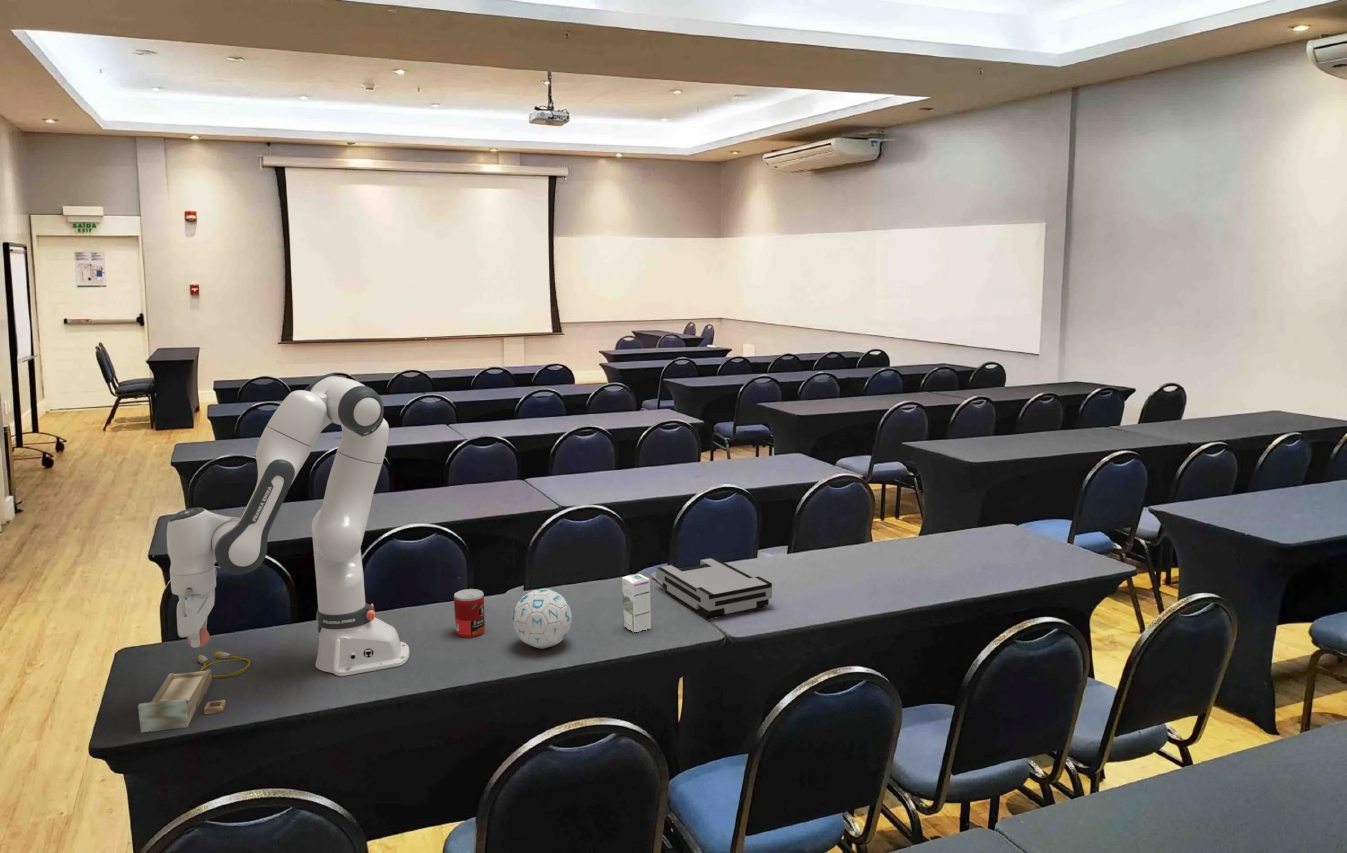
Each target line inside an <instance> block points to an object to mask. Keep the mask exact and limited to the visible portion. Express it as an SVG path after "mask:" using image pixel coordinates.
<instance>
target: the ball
mask: <svg viewBox="0 0 1347 853" xmlns="http://www.w3.org/2000/svg"><path fill="white" fill-rule="evenodd" d="M199 634H200V637H201V644H200V646H199V647H193V648H195V649H199V648H202V647H204V646H206V645H207V644H208V643H209V641H210V633H209V631H208V630H207V628H206V629H204V628H200V632H199ZM186 638H187V643H188V644H189V646H190V647H191V641H190V638H189V637H186Z"/></svg>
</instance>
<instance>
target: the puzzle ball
mask: <svg viewBox="0 0 1347 853" xmlns="http://www.w3.org/2000/svg"><path fill="white" fill-rule="evenodd" d="M572 616H573V614H572V610H571V607H570V605H569V602H568V600H567V599H566V598H565V597H564V596H563V595H562V594H560V593H559V592H558V591H555V590H553V589H552V590H551V589H548V588H538V589H535V590H534V589H533V590H531V591H530V592H527V593H526V594H524V595H523V596H522V597H521V598H520V599H519V601H518V602H517V603H516V605H515V608H514V610H513V614H512V624H513V628H514V629H513V630H514V631H515V632H516V635H517V636H518V638H519V639H520V640H521V642H523V643H525V644H527V645H529V646H531V647H534V648H535V649H536V648H537V649H547V648H550V647H554V646H556V645H557V644H560V643H561V642H562V641H563V640H564V639H565V638H566V637H567V635H568V633H569V631H570V628H571V626H572Z"/></svg>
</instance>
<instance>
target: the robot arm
mask: <svg viewBox="0 0 1347 853" xmlns="http://www.w3.org/2000/svg"><path fill="white" fill-rule="evenodd" d="M330 424H336V425H340V426H341V439H340V442H339V443H338V447H337V451H336V454H335V456H334V458H333V459H334V460H333V464H332V466H331V468H330V472H329V476H328V479H327V483H326V488H325V493H324V496H323V500H322V505H321V508H320V509H318V511H317V512H316V513H315V515H314V517H313V519H312V522H311V534H312V536H311V537H312V545H313V546H312V547H313V557H314V558H313V559H314V561H313V562H314V572H315V580H316V595H317V597H316V598H317V605H318V606H317V610H316V615H315V616H316V627H317V631H318V633H319V635H318V646H317V647H318V649H317V653H316V654H317V656H316V659H315V660H316V661H315V663H314V664H315V665H314V666H315V668H316V669H317V670H320V671H322V672H327V673H331V674H334V675H336V676H337V677H346V676H351V675H356V674H361V673H368V672H373V671H379V670H384V669H385V670H386V669H389V668H390V669H391V668H395V667H399V666H402V665H404V664H405V663H406V662H407V661H408V660H409V658H410V647H409V645H408V643H406V642H404V641H401V640H400V637H399V634H398V631H397V630H396V628H395V627H394V626H393V625H390V624H388V623H387V622H385V621H383V620H381V619H379V618H377V617H376V611H375V606H374V604H373V603H371V604H369V603H367V602H366V594H365V580H364V568H363V560H362V559H363V558H362V549H361V546H362V545H363V544H362V543H363V540H364V536H365V532H366V528H367V524H368V520H369V515H370V512H371V511H370V510H371V507H372V502H373V501H372V500H373V497H374V493H375V489H376V486H377V482H378V480H379V476H380V473H381V470H382V466H383V462H384V459H385V456H386V451H387V447H388V441H389V434H390V433H389V431H390V427H389V426H390V425H389V423H388V421H387V420H386V419H385V418H384V403H383V400H382V398H381V396H380V394H378V393H377V392H376V390H374V389H373V388H371V387H369V386H367V385H365V384H363V383H361V382H359V381H357V380H354V379H352V378H351V379H350V378H346V377H343V376H341V375H340V374H339V375H338V374H329V373H328V374H323V375H320V376H318V377H317V378H315V379H314V380H313V381H312V382H311V383H310V384H309V385H308V386H307V387H306V388H305V389H304V390H302V389H299V390H298V389H297V390H294V391H291V392H290V393H289V394H288V395H287V396H286V397H285V398H284V399H283V401H282V402H281V403H280V405H278V407H277V408H276V409H275V411H274V413H273V415H272V416H271V418H270V419H269V420H268V423H267V424H266V426H265V427H264V430H263V432H262V434H261V436H260V439H259V441H258V443H257V448H256V451H255V460H256V465H257V481H256V485H255V489H254V491H253V493H252V495H251V497H250V499H249V501H248V503H247V505H246V508H245V510H244V511H243V513H242V515H241V517H239V516H228V515H222V514H218V513H216V512H215V513H214V512H212V511H210V510H207V509H205V508H204V507H191V508H188V509H183V510H180V511H178V512H176V513H175V514H173V515H172V516H171V517H170V518H169V520H168V522H167V525H166V526H167V527H166V548H167V555H168V557H169V560H170V567H169V579H170V590H171V593H172V595H176V596H178V602H177V605H176V627H177V628H176V629H177V635H178V637H179V638H187V637H189V638H190V641H191V646H190V647H191V648H194V647H199V646H200V644H201V637H200V634H199V632H200V628H204V629H206V630H207V624H208V616H209V614H210V613H211V611H212V609H213V607H214V606H215V600H216V591H215V590H216V589H215V588H216V587H217V579H216V578H217V576H218V572H217V568H216V567H215V564H216V563H217V565H218V566H219V568H221V570H223V571H224V572H226V573H227V574H231V575H237V576H238V575H246V574H249V573H252V572H254V571H255V570H257V569H258V568H259V567H260V566H261V565H262V564H263V562H264V561H265V558H266V556H267V552H268V537H269V533H270V531H271V528H272V526H273V524H274V522H275V519H276V518H277V516H278V513H279V511H280V508H281V507H282V505H283V503H284V501H285V499H286V496H287V494H288V492H289V490H290V487H291V486H292V484H293V482H294V481H295V479H296V477H297V476H298V473H299V472H300V470H301V468H303V466H304V464H305V462H306V460H307V459H308V458H309V456H310V454H311V452H312V450H313V449H314V446H315V445H316V442H318V441H317V440H318V438H319V435H320V434H321V433H322V431H323V430H324V429H326V427H328V426H329V425H330Z"/></svg>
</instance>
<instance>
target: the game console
mask: <svg viewBox="0 0 1347 853" xmlns="http://www.w3.org/2000/svg"><path fill="white" fill-rule="evenodd" d="M655 579H656V580H658V581H660V582H661V583H662V585H661V586H662V587H663V588H665V591H666V592H665V593H666V595H669V596H670V597H671V598H673V599H675V600H676V601H678V602H679V603H681V604H683V605H684V606H685V607H687V608H689V609H690V610H692V611H694V612H695V613H696V614H698V615H699V616H701V617H702V618H705V619H706V620H712V619H711V618H713V619H716V618H715V617H718V618H722V617H725V616H726V615H728V614H730V613H735V612H741V611H746V612H751V611H755V610H759V609H765V608H766V606H769V605H770V604H769V603H770V602H769V601H770V600H771V599H773V597H772V596H773V583H772V582H770V581H768V580H767V579H765V578H762V577H761V576H755V577H754V576H753V577H752V576H751V575H750V574H747V573H745V572H743V571H741V570H739V569H738V568H735V567H733V566H732V565H730V564H727V563H726V562H724V561H722V560H720V559H718V558H716V557H711V558H705V559H700V563H699V564H698V565H692V566H686V567H680V568H677V567H675V566H673V565H672V564H670V565H664V566H658V567H655Z"/></svg>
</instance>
